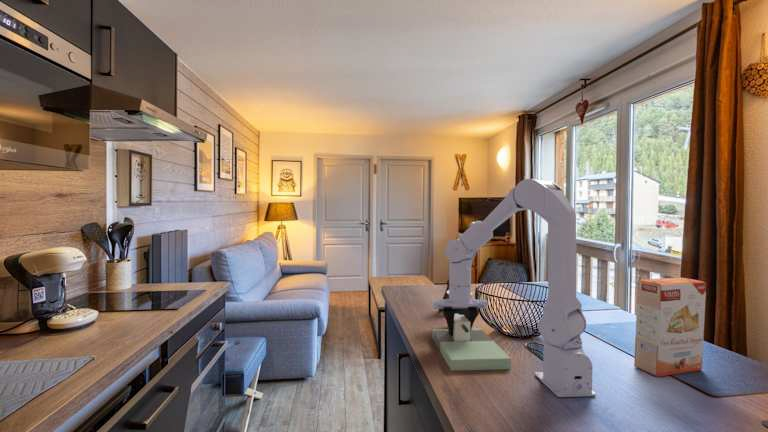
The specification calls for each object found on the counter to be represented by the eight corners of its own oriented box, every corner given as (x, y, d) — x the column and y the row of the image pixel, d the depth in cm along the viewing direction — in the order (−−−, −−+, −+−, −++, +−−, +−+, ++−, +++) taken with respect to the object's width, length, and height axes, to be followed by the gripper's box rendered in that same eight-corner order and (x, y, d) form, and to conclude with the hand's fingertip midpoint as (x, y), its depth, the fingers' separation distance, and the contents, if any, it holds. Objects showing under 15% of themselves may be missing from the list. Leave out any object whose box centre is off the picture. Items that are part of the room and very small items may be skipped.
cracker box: (659, 379, 76) (662, 284, 76) (632, 366, 82) (635, 278, 81) (705, 371, 80) (708, 281, 79) (676, 360, 86) (679, 276, 85)
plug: (474, 350, 87) (474, 326, 87) (458, 350, 87) (459, 326, 87) (462, 334, 98) (462, 313, 98) (448, 335, 97) (448, 313, 97)
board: (510, 369, 80) (510, 358, 80) (451, 370, 79) (451, 359, 79) (480, 336, 100) (480, 328, 100) (432, 337, 99) (432, 328, 99)
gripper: (481, 281, 98) (480, 329, 98) (430, 281, 97) (429, 330, 97) (490, 287, 91) (489, 338, 91) (435, 287, 90) (435, 339, 90)
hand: (459, 334), depth 94 cm, fingers closed on plug, 4 cm apart
